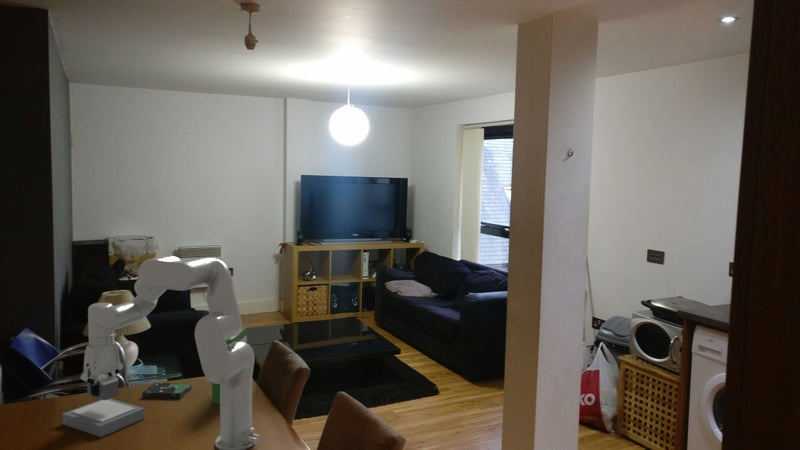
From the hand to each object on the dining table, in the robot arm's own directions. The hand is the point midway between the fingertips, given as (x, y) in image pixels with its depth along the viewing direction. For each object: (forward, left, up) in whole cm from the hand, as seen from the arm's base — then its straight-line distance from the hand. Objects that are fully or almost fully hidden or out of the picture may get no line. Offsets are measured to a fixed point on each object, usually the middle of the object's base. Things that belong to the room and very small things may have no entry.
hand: (103, 392), depth 185 cm
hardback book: (-20, -38, -10) cm, 44 cm away
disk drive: (+2, -27, -11) cm, 29 cm away
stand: (0, 0, -10) cm, 10 cm away
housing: (0, 0, -1) cm, 1 cm away
